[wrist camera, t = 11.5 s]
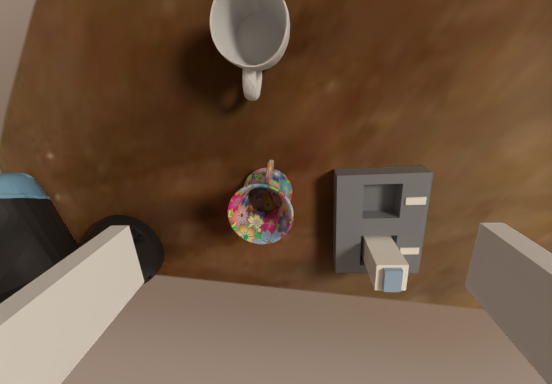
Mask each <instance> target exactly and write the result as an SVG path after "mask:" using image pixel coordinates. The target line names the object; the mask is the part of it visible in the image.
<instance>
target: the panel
mask: <svg viewBox="0 0 552 384" xmlns="http://www.w3.org/2000/svg"><path fill="white" fill-rule="evenodd" d="M432 178H433V172H432V171H430V170H429V169H427V168H425V167H424V166H422V165H418V166H393V167H368V168H343V169H334V207H333V263H334V268H335V273H368V271H367V269H366V266H365V263H364V261H363V258H362V256H361V253H360V251H361V236H391V237H392V239H393V241H394V242H395V244H396V245H397V247H398V248H399V250H400V252H401V253H402V255H403V256H404V258H405V260H406V261H407V263H408V264H409V269H408V273H419V266H420V259H421V252H422V245H423V239H424V232H425V225H426V218H427V211H428V205H429V198H430V191H431V184H432Z"/></svg>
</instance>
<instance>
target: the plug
mask: <svg viewBox="0 0 552 384" xmlns="http://www.w3.org/2000/svg"><path fill="white" fill-rule="evenodd" d="M360 253H361V256H362V258H363V261H364V263H365V266H366V269H367V271H368V274H369V277H370V279H371V282H372V285H373V287H374V290H383V292H401V290H406V285H407V277H408V269H409V264H408V263H407V261H406V260H405V258H404V256H403V255H402V253H401V252H400V250H399V248H398V247H397V245H396V244H395V242H394V241H393V239H392V237H391V236H361V251H360Z"/></svg>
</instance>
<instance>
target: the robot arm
mask: <svg viewBox="0 0 552 384" xmlns="http://www.w3.org/2000/svg"><path fill="white" fill-rule="evenodd" d="M51 201H52V199H51V197H49V196H47V195H46V193H45V192H44V190H43V189H42V187H41V186H40V184H39V183H38V182H37V180H36V179H35V178H34V177H32V176H31V175H28V174H25V173H4V174H0V384H61V383H62V382H63V380H64V379H65V378H66V377H67V376H68V374H69V373H70V372H71V371H72V369H73V368H74V367H75V366H76V365H77V363H78V362H79V361H80V360H81V359H82V357H83V356H84V355H85V354H86V352H87V351H88V350H89V349H90V348H91V346H92V345H93V344H94V343H95V341H96V340H97V339H98V338H99V337H100V335H101V334H102V333H103V332H104V331H105V329H106V328H107V327H108V326H109V324H110V323H111V322H112V321H113V320H114V318H115V317H116V316H117V315H118V313H119V312H120V311H121V310H122V308H123V307H124V306H125V305H126V303H127V302H128V301H129V300H130V299H131V298H132V296H133V295H134V294H135V293H136V292H137V290H138V289H139V288H140V287H141V285H143V284H145V283H146V282H148V281H149V280H151V279H152V278H153V277H154V276H155V274H156V273H157V272H158V271H159V269H160V268H161V266H162V263H163V259H164V252H163V247H162V244H161V242H160V240H159V238H158V237H157V235H156V234H155V233H154V232H153V231H152V230H151V229H150V228H149V227H148V226H147V225H146V224H144V223H143V222H141V221H139V220H137V219H135V218H132V217H128V216H123V215H114V216H109V217H106V218H104V219H102V220H100V221H99V222H97V223H96V224H94V225H93V226H92V227H91V228H90V229H89V230H88V231H87V233H86V234H85V236H84V238H83V239H82V240H81V242H80V243H79V244H78V245H77V243H76V241H75V240H74V238H73V236H72V235H71V233H70V231H69V230H68V228H67V227H66V225H65V223H64V222H63V220H62V218H61V217H60V215H59V213H58V212H57V210H56V208H55V207H54V205H53V203H52V202H51ZM465 288H466V289H467V290H468V291H469V292H470V293H471V295H472V296H473V297H474V298H475V299H476V300H477V302H478V303H479V304H480V305H481V306H482V308H483V309H484V310H485V311H486V312H487V313H488V314H489V316H490V317H491V318H492V319H493V320H494V322H495V323H496V324H497V325H498V326H499V327H500V329H502V331H503V332H504V333H505V335H506V336H507V337H508V338H509V339H510V340H511V342H512V343H513V344H514V345H515V346H516V347H517V348H518V350H519V351H520V352H521V353H522V354H523V356H524V357H525V358H526V359H527V360H528V362H529V363H530V364H531V365H532V366H533V367H534V369H535V370H536V371H537V372H538V373H539V374H540V376H541V377H542V378H543V379H544V380H545V381H546V382H547V384H552V253H550V252H549V251H547V250H545V249H544V248H542V247H541V246H539V245H538V244H536V243H535V242H533V241H531V240H530V239H528V238H527V237H525V236H524V235H522V234H520V233H519V232H517V231H516V230H514V229H513V228H511V227H509V226H508V225H506V224H505V223H480V225H479V229H478V233H477V237H476V241H475V246H474V250H473V254H472V258H471V262H470V266H469V270H468V274H467V278H466V283H465Z"/></svg>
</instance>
